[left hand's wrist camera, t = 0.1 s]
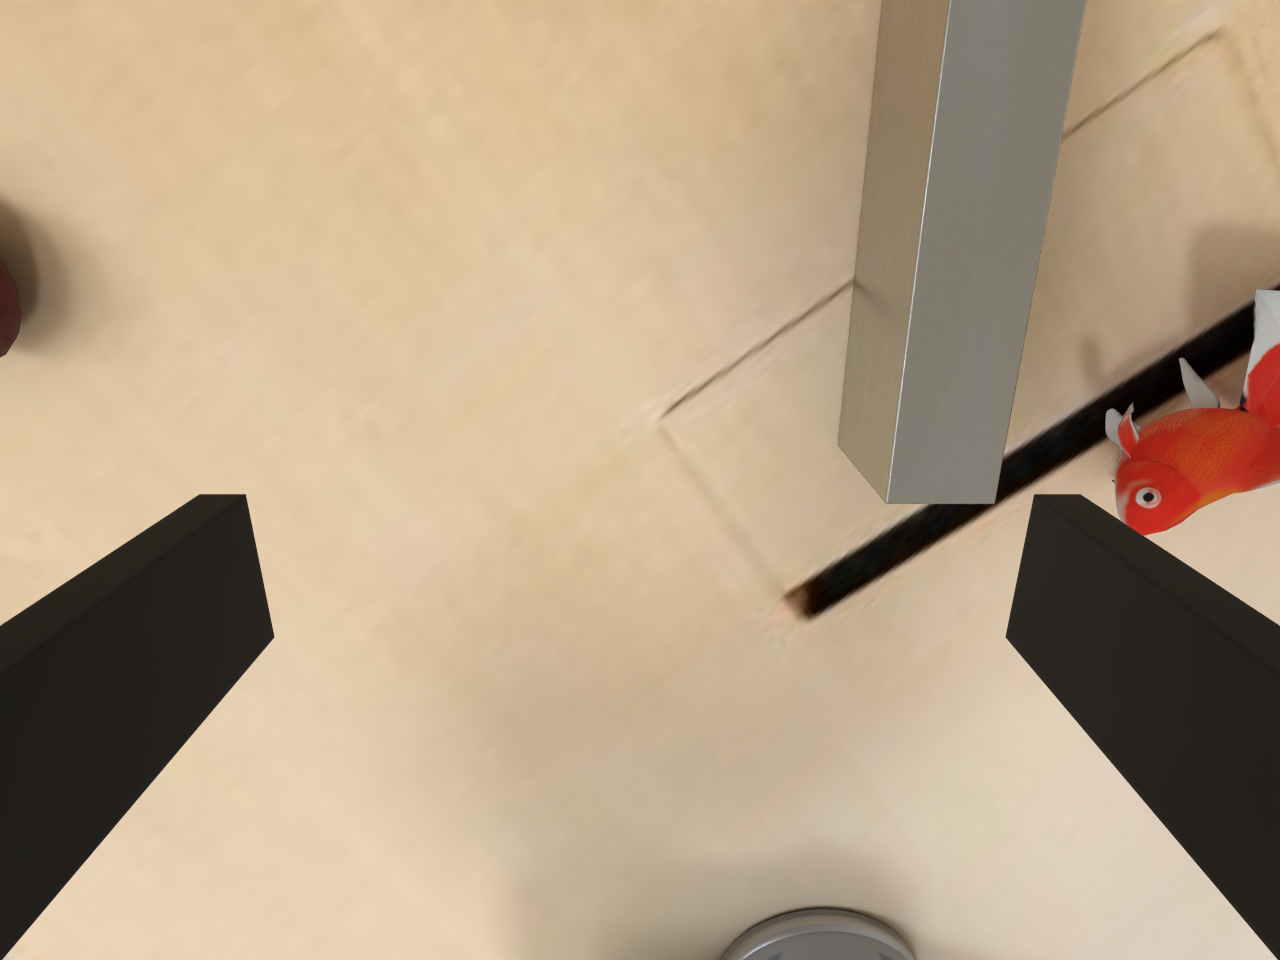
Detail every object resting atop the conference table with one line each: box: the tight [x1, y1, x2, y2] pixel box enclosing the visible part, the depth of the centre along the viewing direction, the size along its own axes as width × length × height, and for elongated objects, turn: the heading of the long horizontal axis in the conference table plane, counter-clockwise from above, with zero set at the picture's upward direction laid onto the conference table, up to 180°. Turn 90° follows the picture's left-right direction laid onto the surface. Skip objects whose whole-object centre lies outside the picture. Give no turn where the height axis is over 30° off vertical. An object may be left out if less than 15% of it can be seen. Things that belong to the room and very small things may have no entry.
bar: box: [838, 0, 1086, 504], centre depth 33 cm, size 22×5×9 cm, turn 0°
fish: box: [1106, 289, 1280, 536], centre depth 36 cm, size 11×16×10 cm
